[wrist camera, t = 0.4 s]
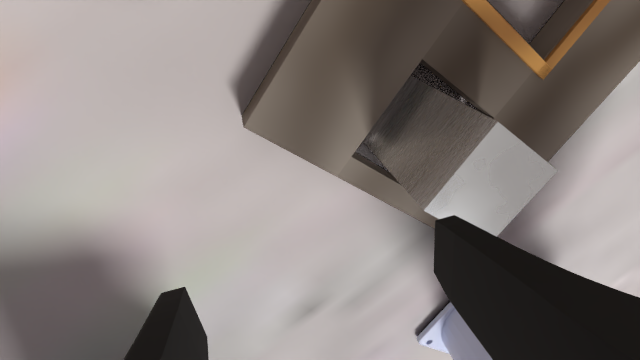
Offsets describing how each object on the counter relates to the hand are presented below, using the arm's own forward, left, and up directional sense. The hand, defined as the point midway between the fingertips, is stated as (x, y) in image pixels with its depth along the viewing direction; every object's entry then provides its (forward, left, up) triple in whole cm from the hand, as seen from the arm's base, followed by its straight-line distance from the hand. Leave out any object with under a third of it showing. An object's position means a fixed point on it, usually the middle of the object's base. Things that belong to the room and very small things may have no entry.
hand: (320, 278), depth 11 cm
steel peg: (-6, -5, -10) cm, 12 cm away
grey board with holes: (-6, -9, -10) cm, 14 cm away
